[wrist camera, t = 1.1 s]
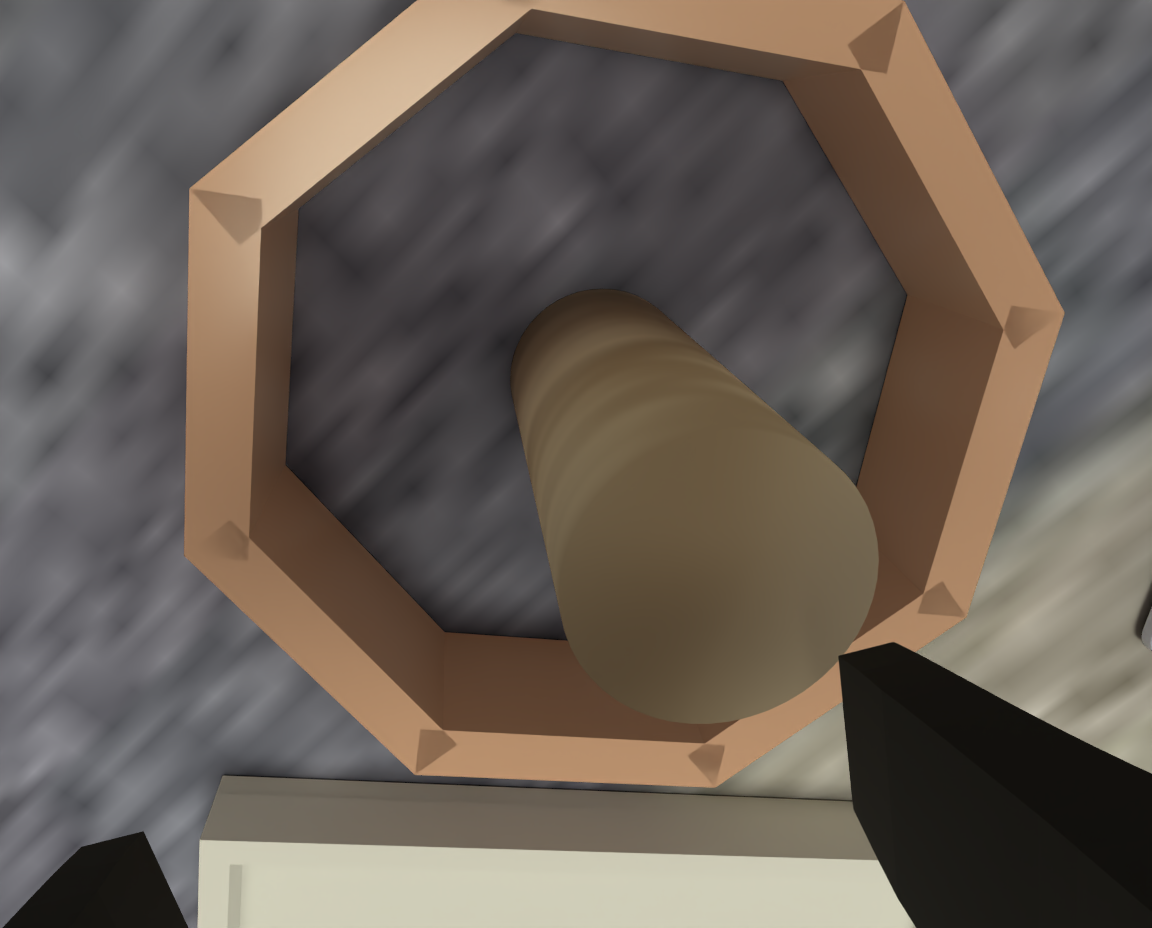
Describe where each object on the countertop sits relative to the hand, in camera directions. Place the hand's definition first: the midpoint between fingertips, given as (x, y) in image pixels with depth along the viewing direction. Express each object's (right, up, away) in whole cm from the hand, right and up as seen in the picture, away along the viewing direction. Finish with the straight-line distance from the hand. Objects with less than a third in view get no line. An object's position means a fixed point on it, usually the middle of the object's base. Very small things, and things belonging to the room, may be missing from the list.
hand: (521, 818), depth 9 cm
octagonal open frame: (+1, +5, +9) cm, 11 cm away
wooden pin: (+1, +5, +9) cm, 11 cm away
